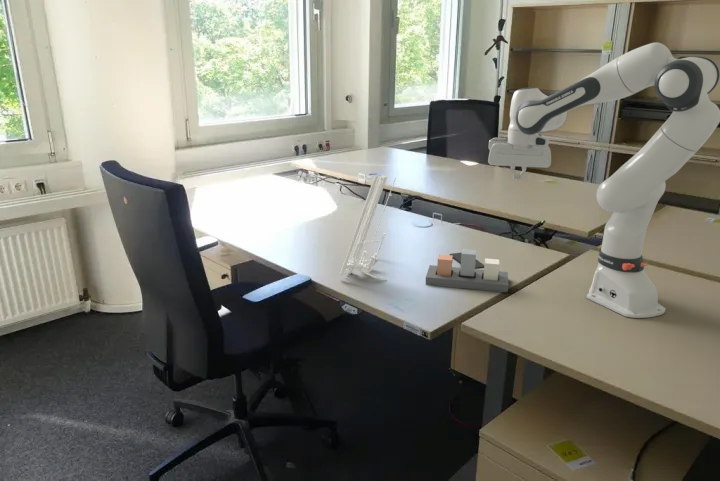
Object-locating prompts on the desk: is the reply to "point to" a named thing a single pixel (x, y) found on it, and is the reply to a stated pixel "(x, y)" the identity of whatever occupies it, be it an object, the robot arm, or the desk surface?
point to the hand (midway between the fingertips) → (517, 179)
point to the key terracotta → (444, 265)
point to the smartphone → (458, 258)
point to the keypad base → (467, 280)
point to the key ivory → (491, 269)
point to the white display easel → (365, 231)
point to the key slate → (468, 262)
